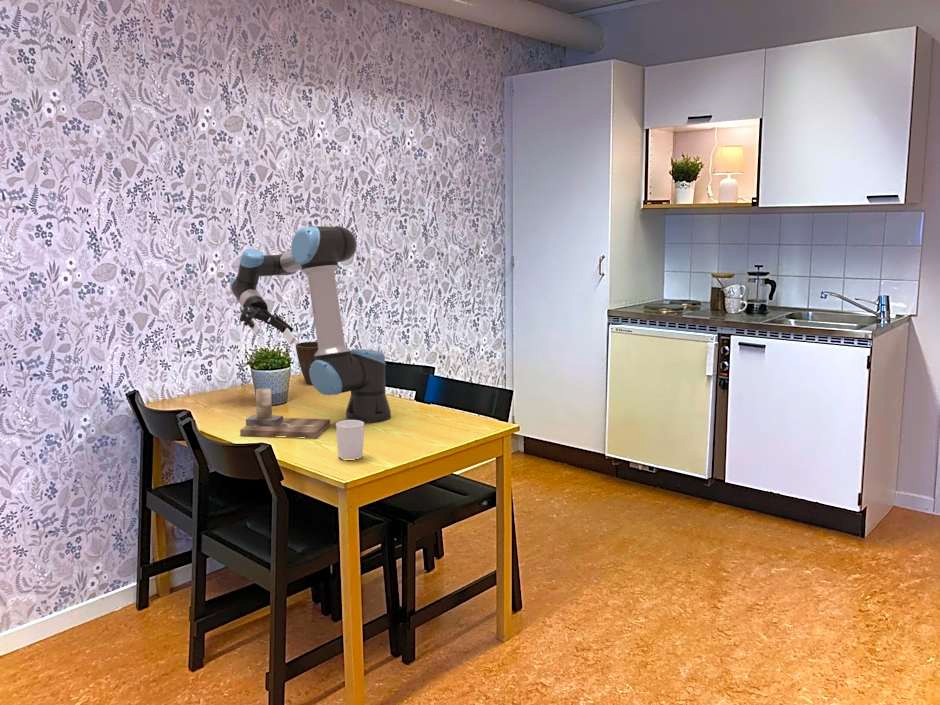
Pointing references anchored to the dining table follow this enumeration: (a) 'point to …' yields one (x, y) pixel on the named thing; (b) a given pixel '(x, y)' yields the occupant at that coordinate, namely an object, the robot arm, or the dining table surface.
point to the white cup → (350, 438)
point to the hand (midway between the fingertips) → (275, 336)
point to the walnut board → (289, 428)
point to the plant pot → (306, 357)
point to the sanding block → (264, 410)
